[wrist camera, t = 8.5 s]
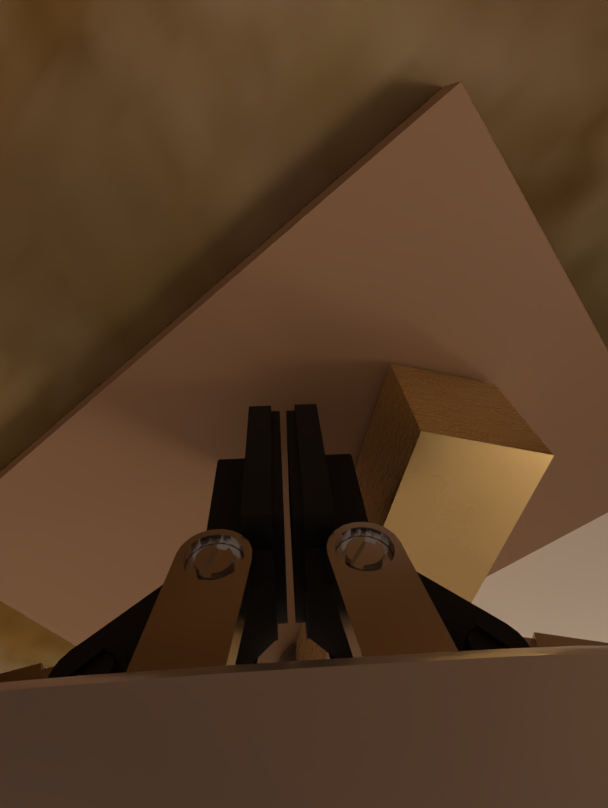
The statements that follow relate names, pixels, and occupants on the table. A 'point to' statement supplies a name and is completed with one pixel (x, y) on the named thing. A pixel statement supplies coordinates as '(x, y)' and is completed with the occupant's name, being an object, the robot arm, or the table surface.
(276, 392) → the door panel
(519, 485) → the bar
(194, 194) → the table surface
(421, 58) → the table surface
